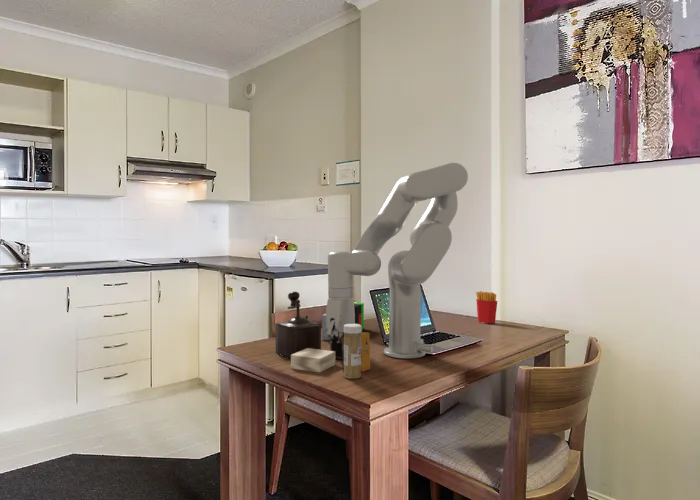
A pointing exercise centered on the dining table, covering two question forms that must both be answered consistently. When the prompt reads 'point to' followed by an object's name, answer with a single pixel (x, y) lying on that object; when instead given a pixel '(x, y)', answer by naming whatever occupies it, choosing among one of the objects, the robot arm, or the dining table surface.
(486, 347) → the dining table surface
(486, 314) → the french fries
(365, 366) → the supplement box
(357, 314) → the puzzle toy
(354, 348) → the sprinkles bottle
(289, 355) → the manual coffee grinder
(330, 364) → the birch block
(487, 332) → the dining table surface
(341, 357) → the walnut block
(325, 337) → the medicine box
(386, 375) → the dining table surface
